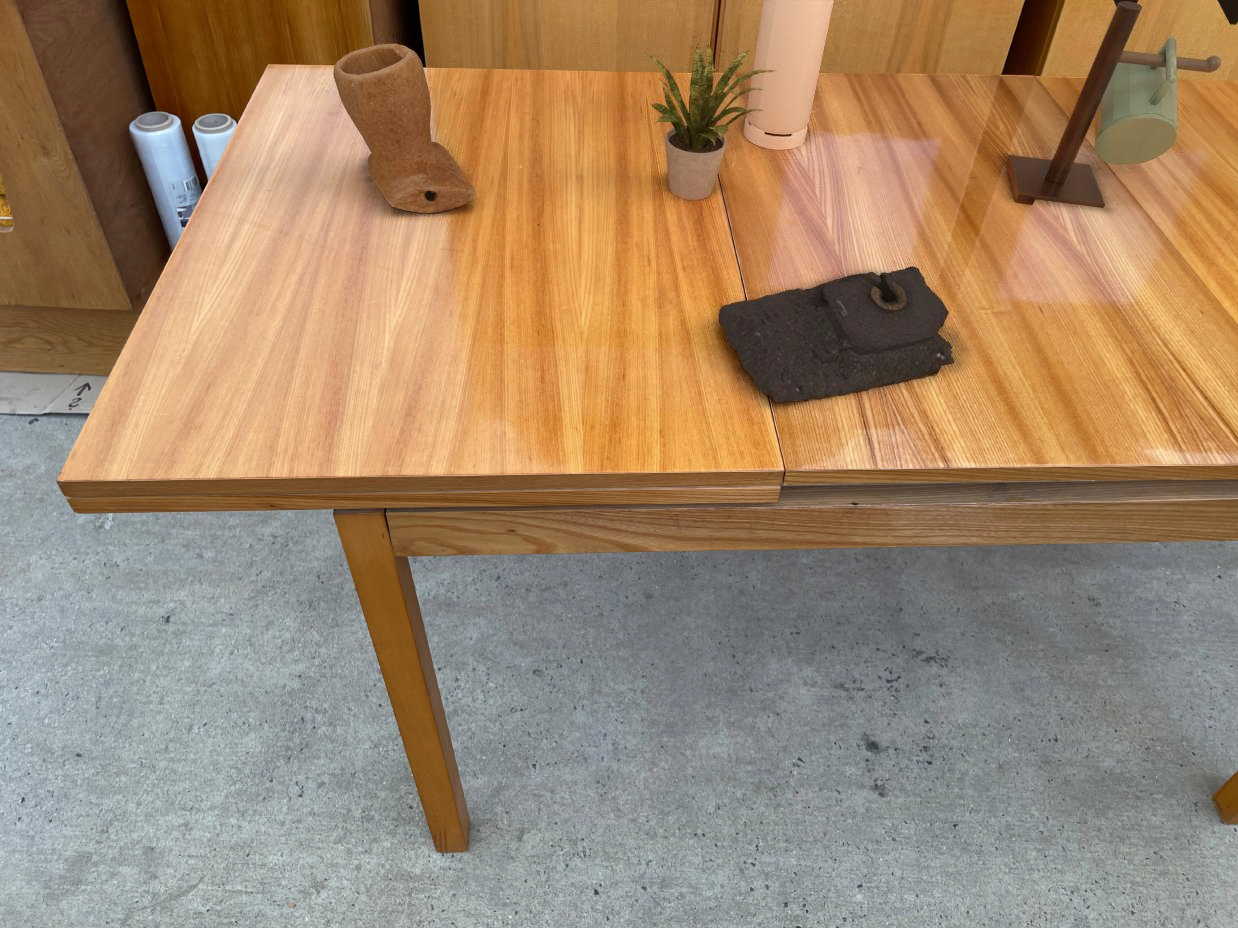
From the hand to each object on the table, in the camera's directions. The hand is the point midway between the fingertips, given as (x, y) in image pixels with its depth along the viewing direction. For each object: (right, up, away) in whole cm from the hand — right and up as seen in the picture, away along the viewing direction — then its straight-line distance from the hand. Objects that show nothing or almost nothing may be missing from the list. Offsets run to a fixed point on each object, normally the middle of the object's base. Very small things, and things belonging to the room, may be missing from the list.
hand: (1185, 12), depth 107 cm
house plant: (-59, -23, -2) cm, 63 cm away
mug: (-9, -17, -7) cm, 20 cm away
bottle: (-48, -12, +9) cm, 50 cm away
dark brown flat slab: (-48, -43, -20) cm, 67 cm away
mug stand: (-12, -21, +2) cm, 24 cm away
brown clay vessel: (-93, -23, -4) cm, 95 cm away
